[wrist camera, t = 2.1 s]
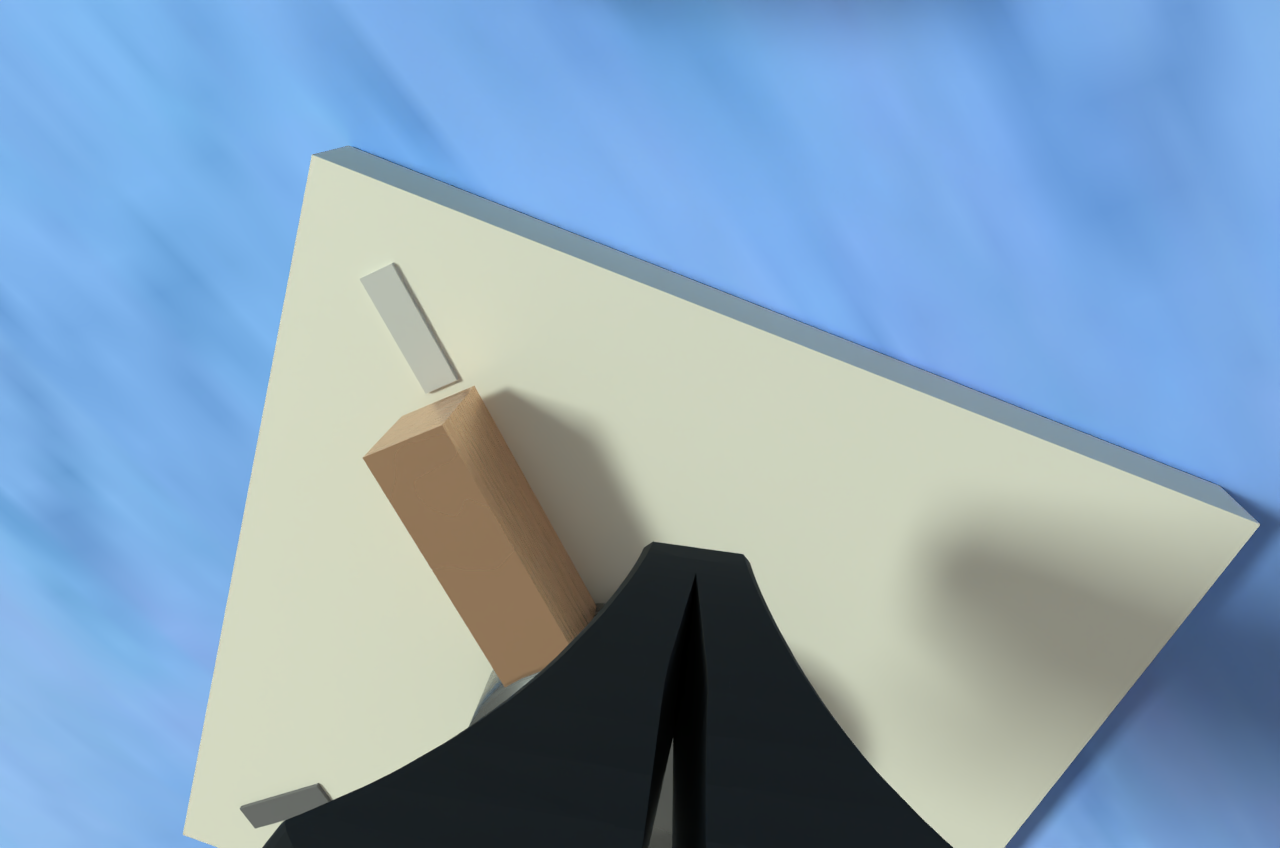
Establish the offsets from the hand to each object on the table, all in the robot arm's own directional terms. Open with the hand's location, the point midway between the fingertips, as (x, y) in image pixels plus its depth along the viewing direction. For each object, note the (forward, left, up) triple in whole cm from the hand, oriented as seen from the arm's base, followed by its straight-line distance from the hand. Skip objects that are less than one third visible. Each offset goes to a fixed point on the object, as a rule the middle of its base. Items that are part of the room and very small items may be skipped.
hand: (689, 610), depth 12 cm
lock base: (-1, +6, -7) cm, 9 cm away
